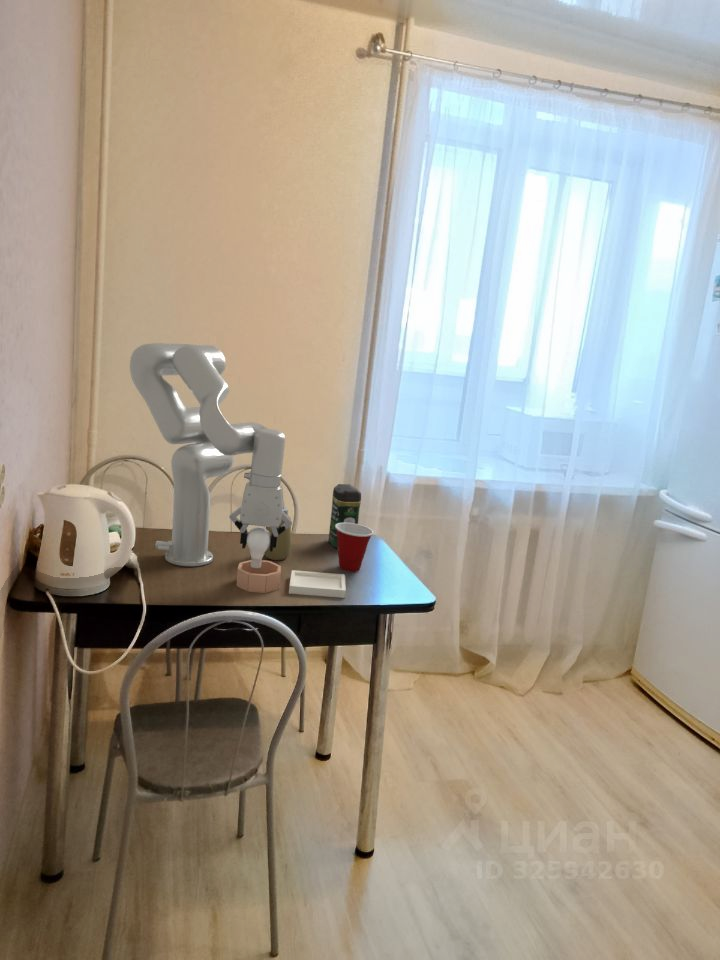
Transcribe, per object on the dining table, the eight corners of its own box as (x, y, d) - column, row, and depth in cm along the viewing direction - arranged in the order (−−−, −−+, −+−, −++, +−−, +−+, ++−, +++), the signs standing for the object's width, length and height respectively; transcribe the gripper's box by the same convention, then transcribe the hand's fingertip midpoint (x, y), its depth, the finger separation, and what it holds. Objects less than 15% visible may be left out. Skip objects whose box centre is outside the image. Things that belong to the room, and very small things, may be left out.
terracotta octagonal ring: (234, 590, 178) (235, 573, 177) (239, 574, 188) (241, 558, 187) (277, 593, 179) (279, 576, 178) (280, 578, 189) (281, 561, 188)
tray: (288, 593, 180) (289, 585, 179) (291, 577, 190) (291, 570, 190) (345, 597, 181) (345, 590, 180) (344, 581, 191) (344, 574, 191)
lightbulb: (270, 573, 182) (275, 532, 179) (245, 573, 179) (249, 531, 177) (265, 563, 187) (269, 523, 185) (240, 563, 185) (245, 523, 182)
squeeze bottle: (292, 562, 201) (297, 500, 197) (263, 562, 199) (268, 499, 195) (288, 552, 209) (293, 492, 205) (260, 552, 207) (264, 491, 203)
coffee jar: (325, 539, 224) (330, 481, 220) (349, 539, 227) (355, 482, 223) (333, 550, 215) (339, 490, 211) (359, 550, 218) (365, 490, 214)
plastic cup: (373, 576, 198) (377, 534, 195) (333, 574, 196) (338, 532, 193) (365, 562, 208) (370, 522, 205) (328, 560, 206) (332, 520, 203)
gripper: (227, 479, 173) (221, 549, 178) (299, 488, 175) (291, 557, 179) (231, 471, 181) (225, 539, 185) (300, 480, 182) (292, 547, 186)
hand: (257, 547), depth 182 cm, fingers closed on lightbulb, 6 cm apart
